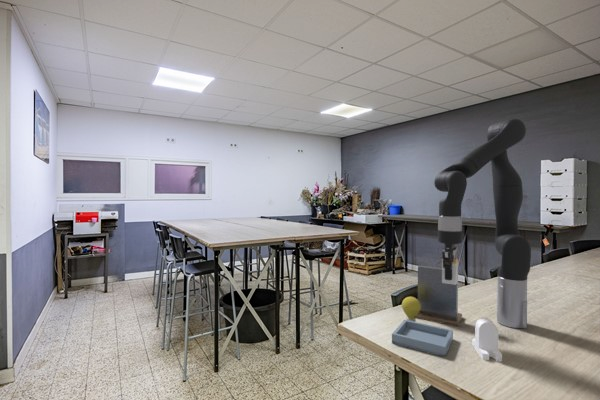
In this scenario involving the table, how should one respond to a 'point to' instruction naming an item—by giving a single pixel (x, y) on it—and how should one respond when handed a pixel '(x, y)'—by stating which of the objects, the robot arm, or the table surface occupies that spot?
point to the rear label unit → (437, 297)
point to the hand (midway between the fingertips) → (449, 277)
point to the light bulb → (411, 308)
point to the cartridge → (454, 273)
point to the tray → (423, 337)
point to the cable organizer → (486, 339)
